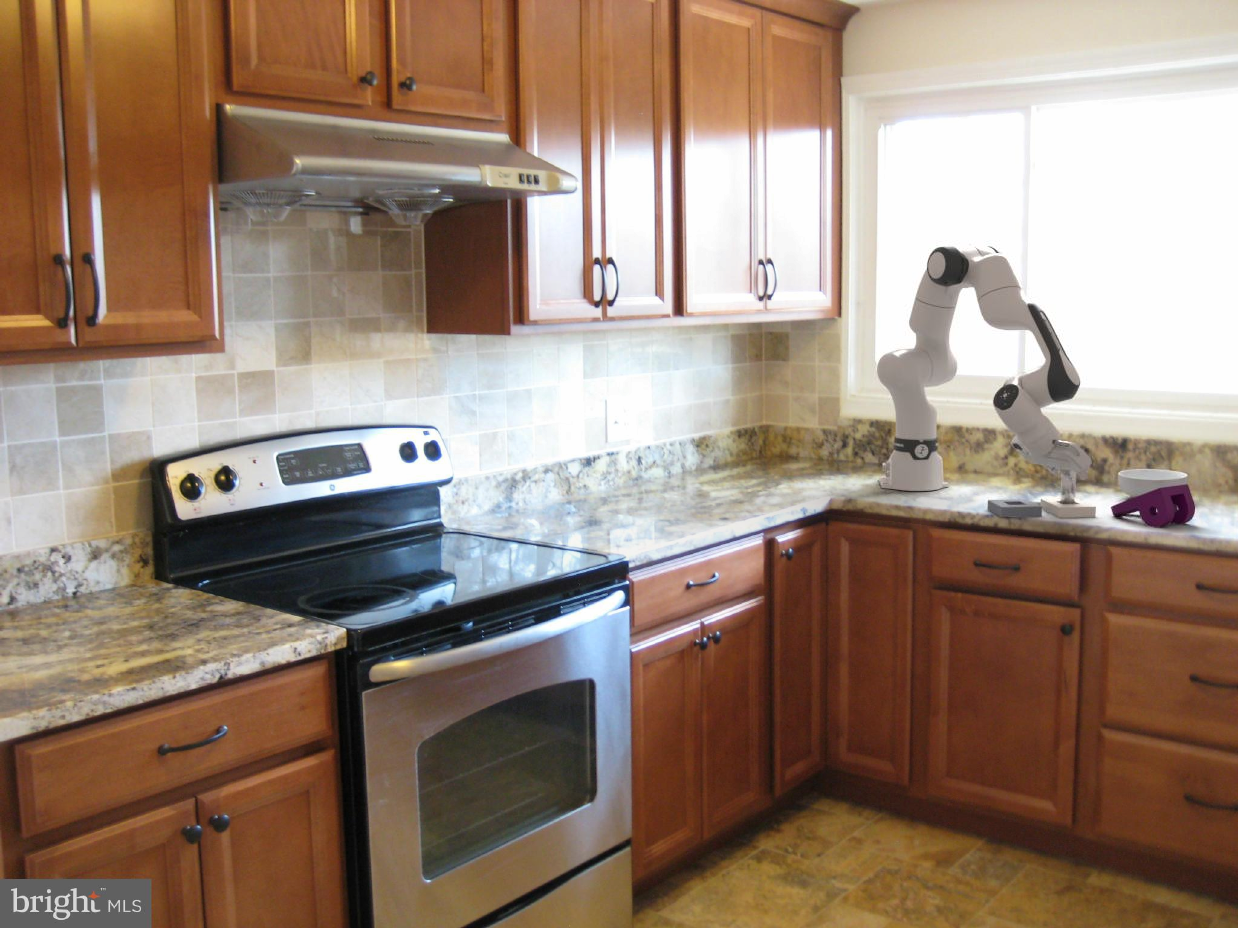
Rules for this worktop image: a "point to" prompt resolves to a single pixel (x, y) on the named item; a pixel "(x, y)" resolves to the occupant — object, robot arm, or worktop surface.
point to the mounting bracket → (1160, 506)
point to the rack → (1068, 508)
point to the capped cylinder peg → (1068, 487)
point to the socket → (1015, 508)
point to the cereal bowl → (1149, 480)
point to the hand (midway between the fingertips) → (1070, 475)
